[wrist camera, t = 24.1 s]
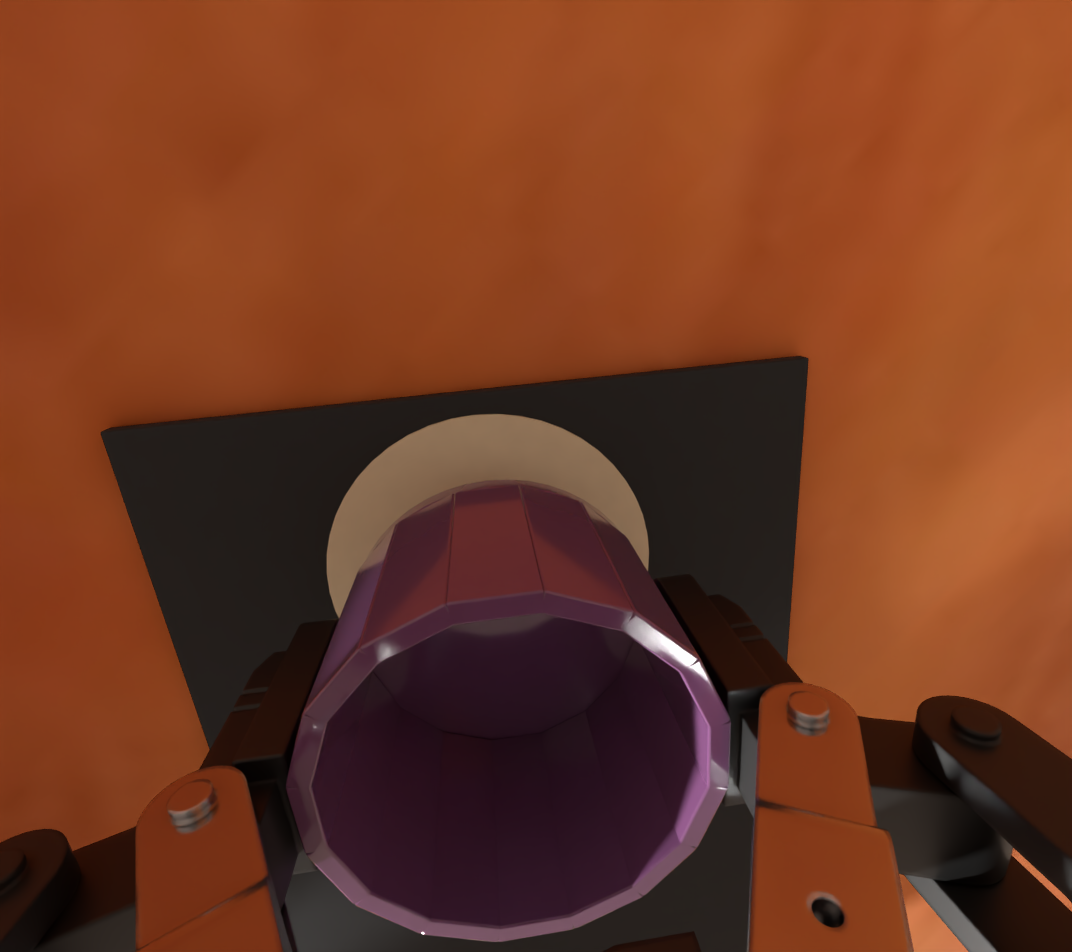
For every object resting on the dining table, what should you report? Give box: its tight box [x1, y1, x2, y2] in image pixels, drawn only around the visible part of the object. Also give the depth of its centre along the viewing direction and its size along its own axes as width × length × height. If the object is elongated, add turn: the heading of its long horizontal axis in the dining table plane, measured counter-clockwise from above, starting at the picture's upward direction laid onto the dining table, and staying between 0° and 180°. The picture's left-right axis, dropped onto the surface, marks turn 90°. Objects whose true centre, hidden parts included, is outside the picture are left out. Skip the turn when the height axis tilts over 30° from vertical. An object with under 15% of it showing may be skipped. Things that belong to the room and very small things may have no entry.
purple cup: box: [285, 479, 731, 942], centre depth 10 cm, size 6×6×4 cm
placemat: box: [101, 356, 808, 952], centre depth 18 cm, size 16×30×1 cm, turn 5°
